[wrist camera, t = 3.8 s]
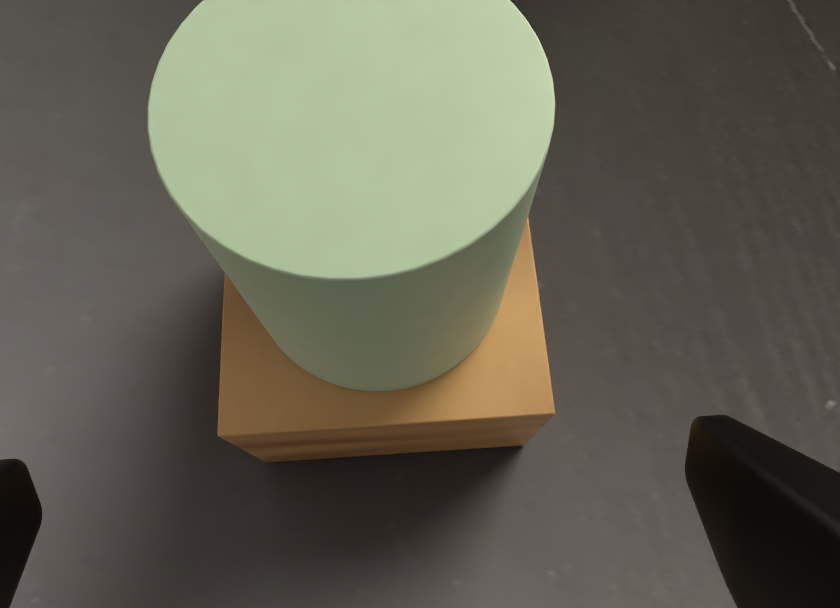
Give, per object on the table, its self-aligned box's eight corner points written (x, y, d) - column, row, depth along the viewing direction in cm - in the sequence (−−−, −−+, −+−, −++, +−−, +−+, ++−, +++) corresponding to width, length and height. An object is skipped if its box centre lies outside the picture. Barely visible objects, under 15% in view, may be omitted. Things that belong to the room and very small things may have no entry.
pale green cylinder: (462, 427, 15) (490, 337, 9) (214, 346, 16) (70, 207, 10) (532, 199, 18) (597, -9, 11) (309, 136, 18) (245, -94, 12)
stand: (525, 445, 20) (555, 414, 16) (265, 462, 20) (216, 436, 15) (497, 214, 23) (516, 129, 18) (269, 228, 23) (229, 145, 18)
